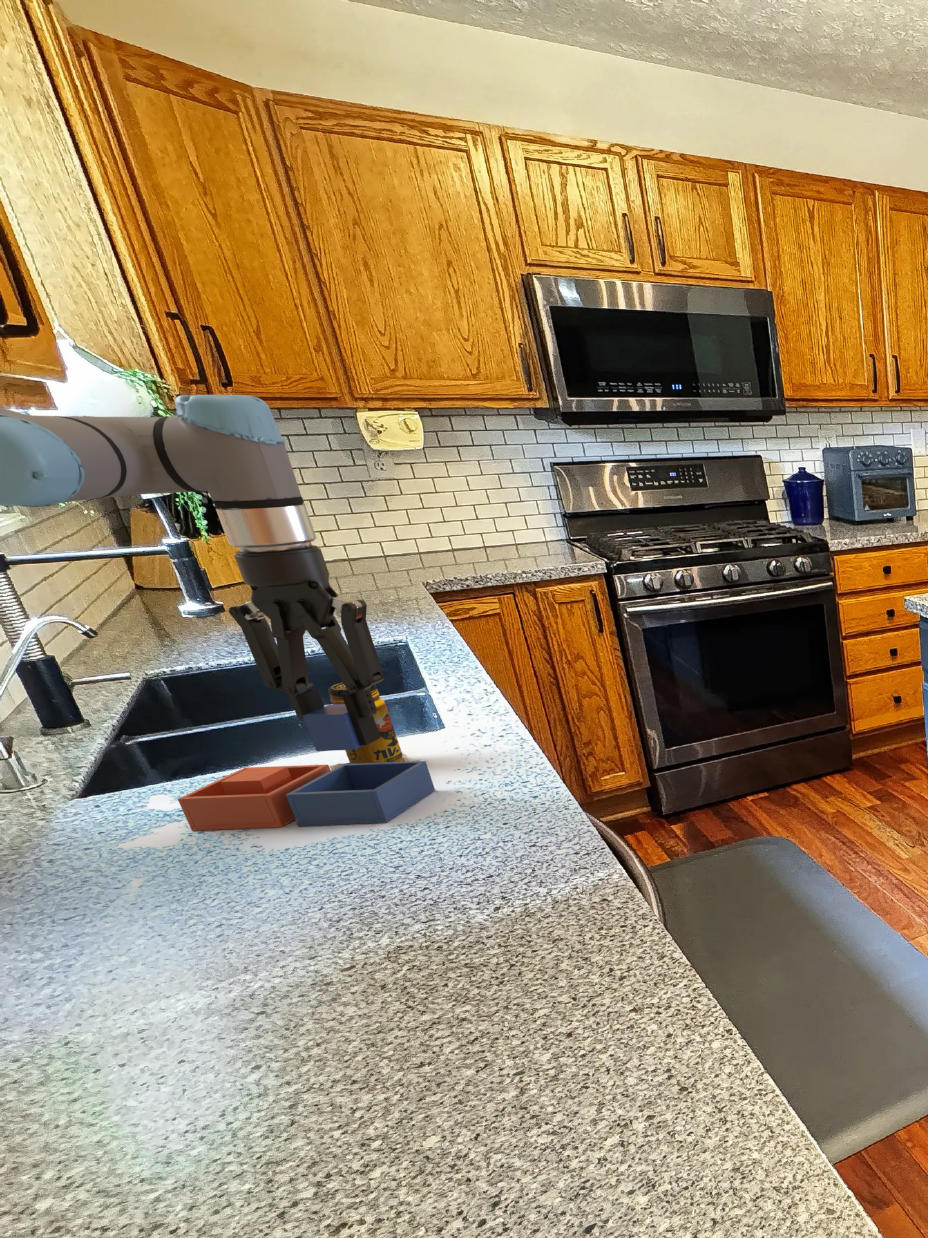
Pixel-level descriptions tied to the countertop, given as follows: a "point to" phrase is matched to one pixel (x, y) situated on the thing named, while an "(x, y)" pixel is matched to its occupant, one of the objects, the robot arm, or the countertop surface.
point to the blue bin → (361, 793)
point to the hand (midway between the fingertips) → (348, 742)
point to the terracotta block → (257, 781)
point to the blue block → (332, 728)
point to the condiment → (387, 743)
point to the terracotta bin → (245, 803)
